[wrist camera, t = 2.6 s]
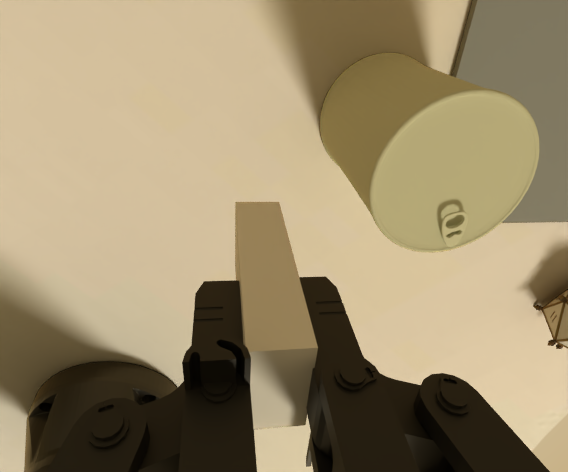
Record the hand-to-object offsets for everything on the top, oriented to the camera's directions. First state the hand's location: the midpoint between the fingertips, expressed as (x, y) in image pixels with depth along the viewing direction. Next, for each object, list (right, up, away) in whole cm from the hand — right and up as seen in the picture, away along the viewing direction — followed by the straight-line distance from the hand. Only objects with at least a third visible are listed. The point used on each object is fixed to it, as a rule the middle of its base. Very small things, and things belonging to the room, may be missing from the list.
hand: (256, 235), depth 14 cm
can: (+8, +9, +16) cm, 20 cm away
